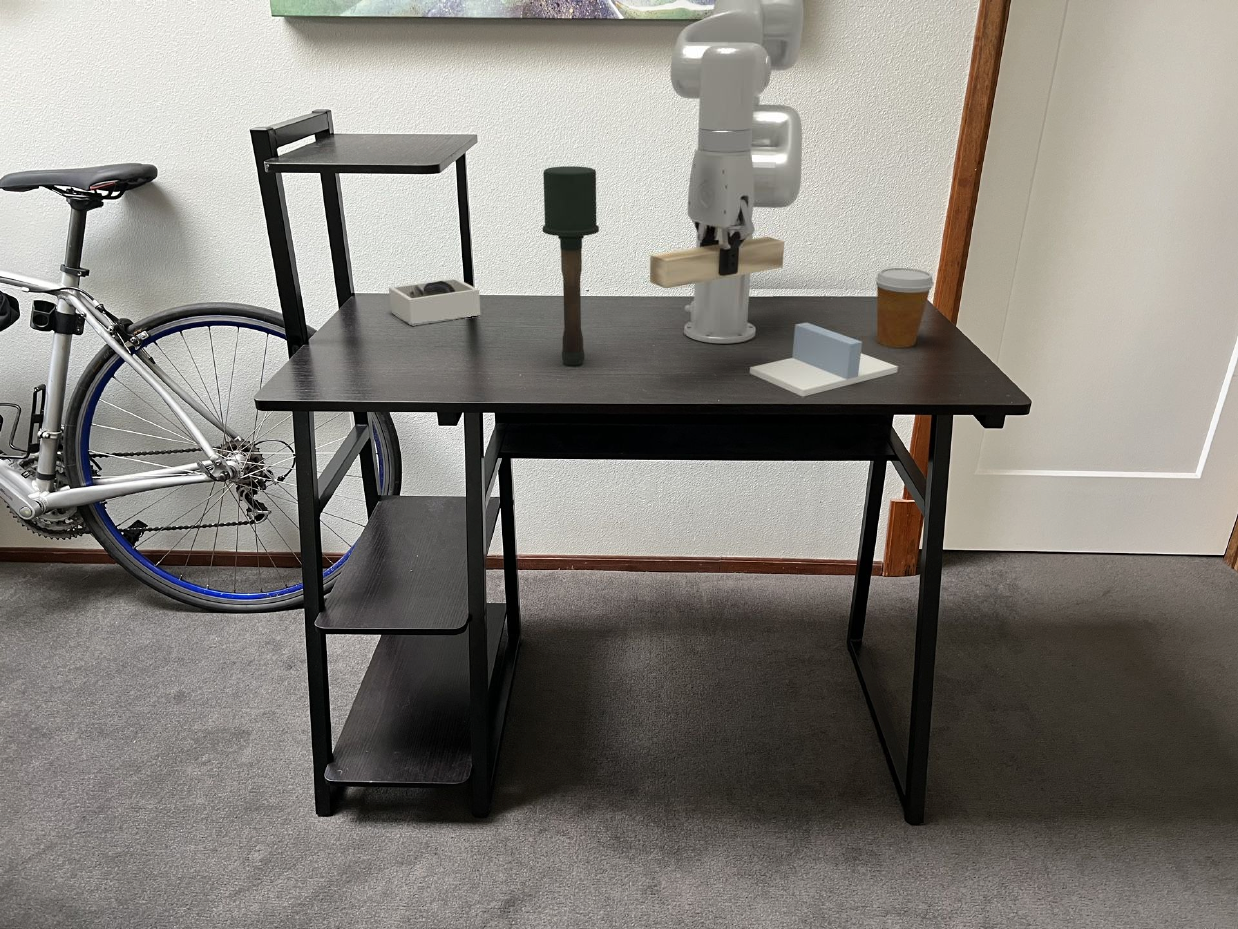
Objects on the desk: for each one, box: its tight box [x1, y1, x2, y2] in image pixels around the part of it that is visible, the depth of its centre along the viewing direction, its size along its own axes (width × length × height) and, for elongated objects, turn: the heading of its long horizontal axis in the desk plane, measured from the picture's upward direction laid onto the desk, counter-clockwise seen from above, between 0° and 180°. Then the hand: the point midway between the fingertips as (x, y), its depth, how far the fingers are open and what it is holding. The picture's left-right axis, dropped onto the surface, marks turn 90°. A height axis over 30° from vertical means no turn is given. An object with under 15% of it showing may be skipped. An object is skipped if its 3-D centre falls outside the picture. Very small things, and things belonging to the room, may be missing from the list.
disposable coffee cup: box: [874, 267, 935, 349], centre depth 155 cm, size 10×10×12 cm
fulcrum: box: [749, 322, 899, 397], centre depth 142 cm, size 12×20×6 cm, turn 123°
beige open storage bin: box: [388, 277, 482, 324], centre depth 171 cm, size 11×14×5 cm
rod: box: [649, 236, 785, 289], centre depth 135 cm, size 4×22×4 cm, turn 123°
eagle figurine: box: [407, 280, 455, 298], centre depth 171 cm, size 8×7×9 cm
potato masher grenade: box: [542, 165, 600, 366], centre depth 140 cm, size 8×9×30 cm
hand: (718, 269), depth 136 cm, fingers closed on rod, 4 cm apart
